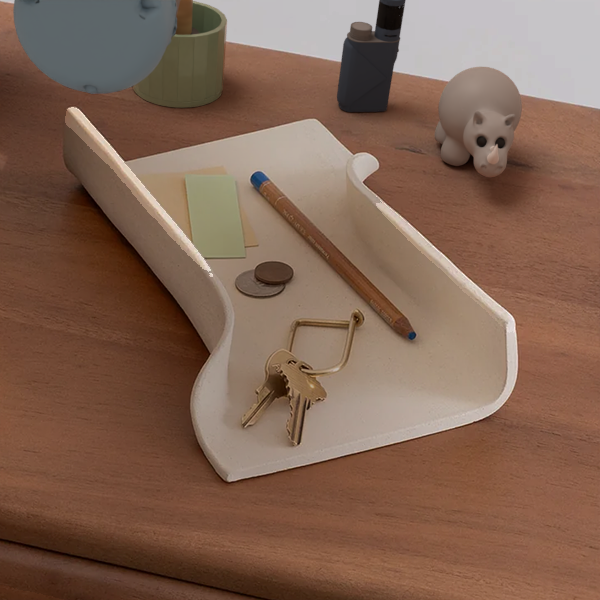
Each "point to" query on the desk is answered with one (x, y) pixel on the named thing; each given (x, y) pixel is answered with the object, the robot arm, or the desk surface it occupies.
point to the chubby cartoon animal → (478, 119)
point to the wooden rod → (185, 18)
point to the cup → (190, 64)
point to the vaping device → (370, 60)
